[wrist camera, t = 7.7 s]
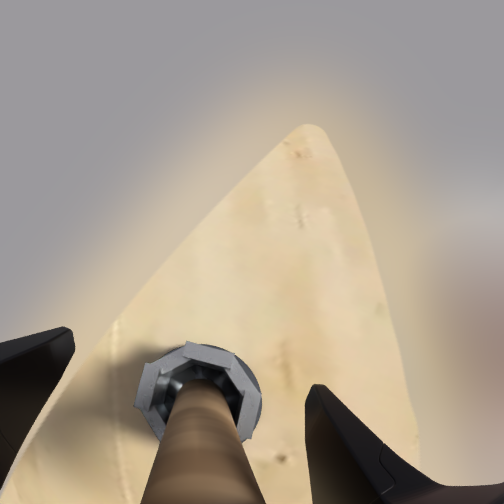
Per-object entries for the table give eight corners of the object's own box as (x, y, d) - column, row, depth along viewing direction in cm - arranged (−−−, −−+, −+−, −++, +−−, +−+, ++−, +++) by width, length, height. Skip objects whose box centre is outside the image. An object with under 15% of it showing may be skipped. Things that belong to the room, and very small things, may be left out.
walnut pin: (226, 422, 17) (272, 556, 4) (178, 422, 16) (150, 556, 3) (225, 378, 18) (275, 483, 5) (175, 377, 17) (124, 480, 4)
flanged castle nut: (247, 462, 16) (253, 481, 12) (135, 432, 16) (113, 440, 12) (270, 360, 21) (283, 351, 16) (162, 333, 21) (147, 316, 16)
